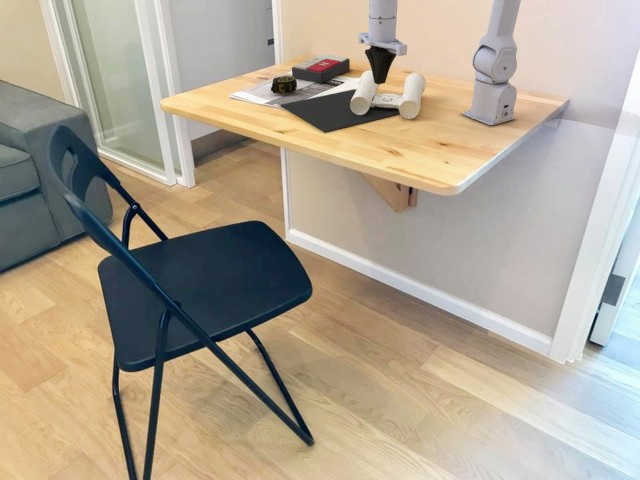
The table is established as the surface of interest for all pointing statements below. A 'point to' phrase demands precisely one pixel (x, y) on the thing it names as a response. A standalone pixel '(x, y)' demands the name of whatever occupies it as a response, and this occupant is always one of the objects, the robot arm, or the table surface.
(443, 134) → the table surface
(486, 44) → the robot arm
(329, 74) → the grey and red box
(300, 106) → the mat
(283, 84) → the tape measure
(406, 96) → the binoculars
